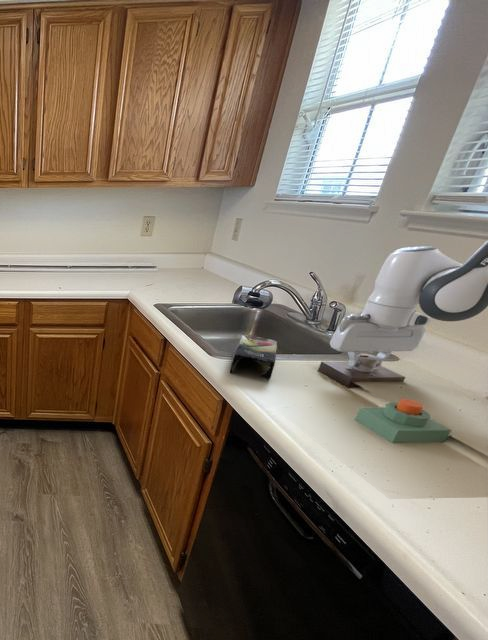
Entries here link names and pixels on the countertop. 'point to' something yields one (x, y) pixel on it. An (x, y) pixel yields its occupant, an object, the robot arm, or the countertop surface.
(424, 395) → the countertop surface
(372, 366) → the lock knob
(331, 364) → the panel
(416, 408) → the orange button cap
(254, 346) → the dark boxy piece
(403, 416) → the green stepped block
